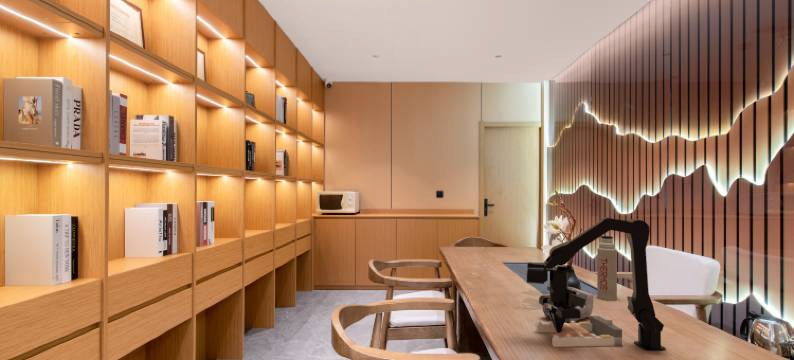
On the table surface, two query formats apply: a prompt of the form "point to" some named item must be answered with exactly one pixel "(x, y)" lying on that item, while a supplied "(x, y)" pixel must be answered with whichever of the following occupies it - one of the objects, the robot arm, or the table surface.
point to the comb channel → (598, 325)
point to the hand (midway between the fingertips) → (558, 332)
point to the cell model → (584, 311)
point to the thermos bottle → (607, 269)
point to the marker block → (572, 330)
